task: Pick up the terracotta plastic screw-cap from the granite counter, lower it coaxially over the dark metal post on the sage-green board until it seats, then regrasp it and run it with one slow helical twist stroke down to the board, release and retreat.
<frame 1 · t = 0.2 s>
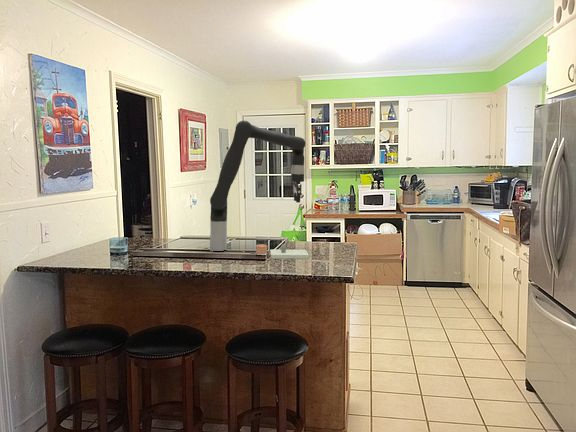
hand: (296, 201, 273), 28 cm above the countertop, fingers open, 8 cm apart
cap: (261, 255, 262), on the countertop
post board: (288, 255, 262), on the countertop
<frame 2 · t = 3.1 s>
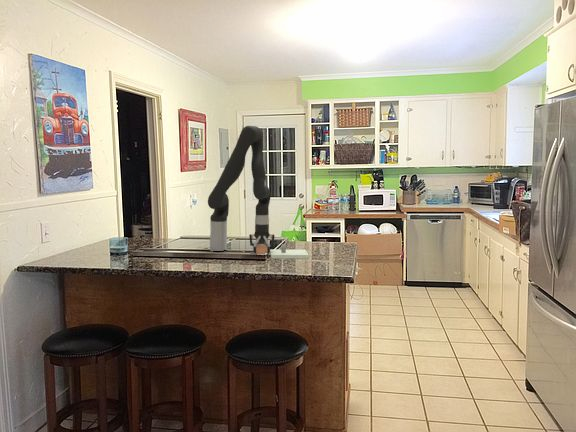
hand: (261, 253, 262), 1 cm above the countertop, fingers open, 6 cm apart
nothing on the countertop moved.
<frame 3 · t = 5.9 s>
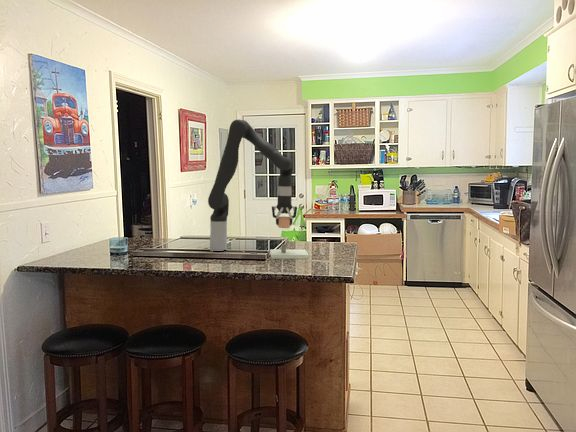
hand: (284, 225, 260), 17 cm above the countertop, fingers closed on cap, 6 cm apart
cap: (283, 227, 260), point 16 cm above the countertop, touching gripper
when the fingers open (3 cm above the countertop, at t = 8.3 s): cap stays where it is, resting on post board.
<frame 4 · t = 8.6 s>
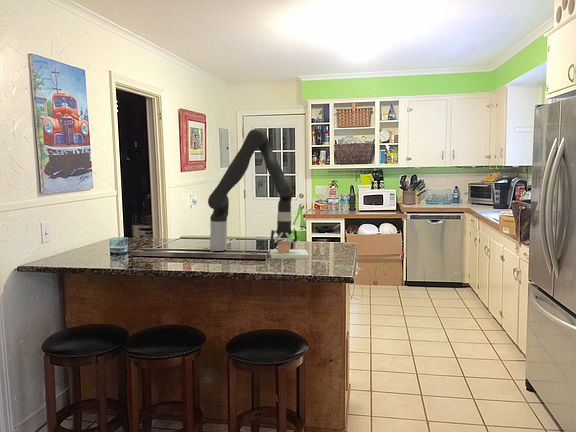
hand: (283, 249, 261), 4 cm above the countertop, fingers open, 8 cm apart
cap: (283, 252, 262), point 2 cm above the countertop, touching post board
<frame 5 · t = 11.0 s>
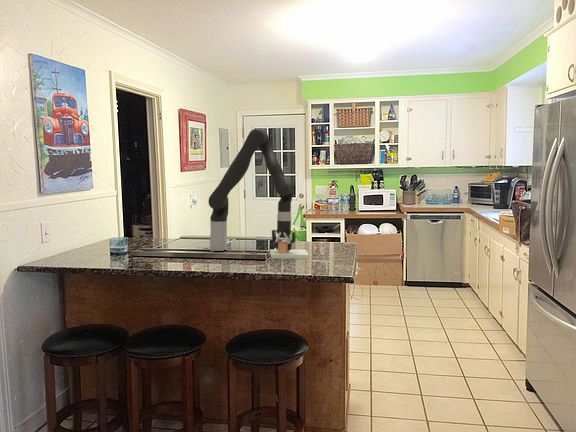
hand: (283, 249, 261), 3 cm above the countertop, fingers closed on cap, 6 cm apart
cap: (283, 252, 262), point 2 cm above the countertop, touching gripper, post board
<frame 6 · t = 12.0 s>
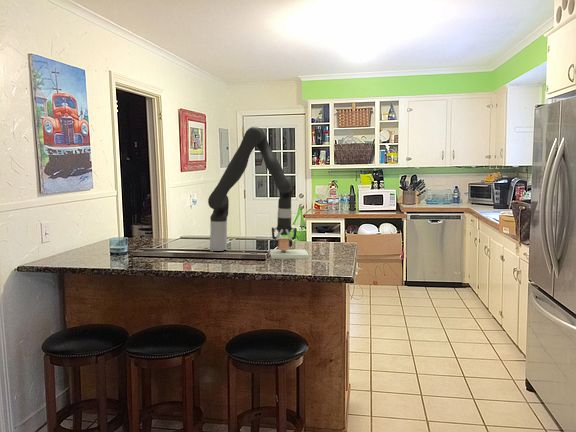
hand: (283, 246, 262), 5 cm above the countertop, fingers closed on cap, 6 cm apart
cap: (283, 249, 262), point 4 cm above the countertop, touching gripper
when the fingers open (3 cm above the countertop, at t = 13.3 s): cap stays where it is, resting on post board.
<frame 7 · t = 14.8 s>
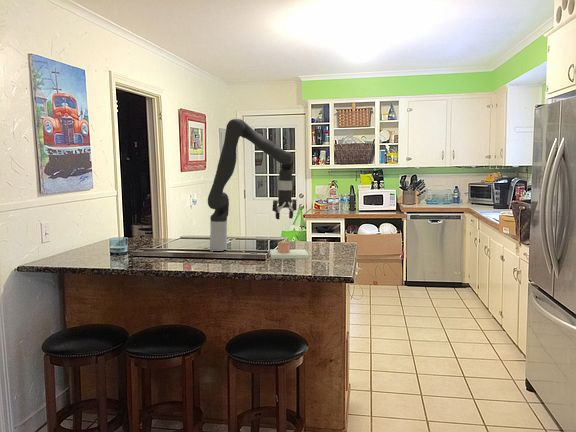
hand: (284, 218, 259), 20 cm above the countertop, fingers open, 8 cm apart
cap: (283, 252, 262), point 2 cm above the countertop, touching post board
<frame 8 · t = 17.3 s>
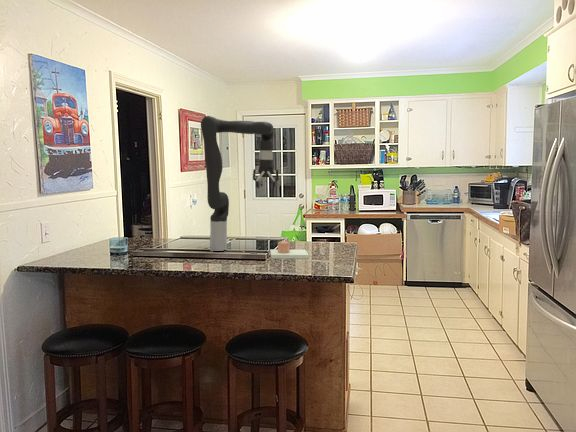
hand: (265, 188, 266), 36 cm above the countertop, fingers open, 8 cm apart
nothing on the countertop moved.
at the end: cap 0.1 cm from the target spot, point 2.0 cm above the countertop; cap tilted 0°; the gripper is holding nothing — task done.
